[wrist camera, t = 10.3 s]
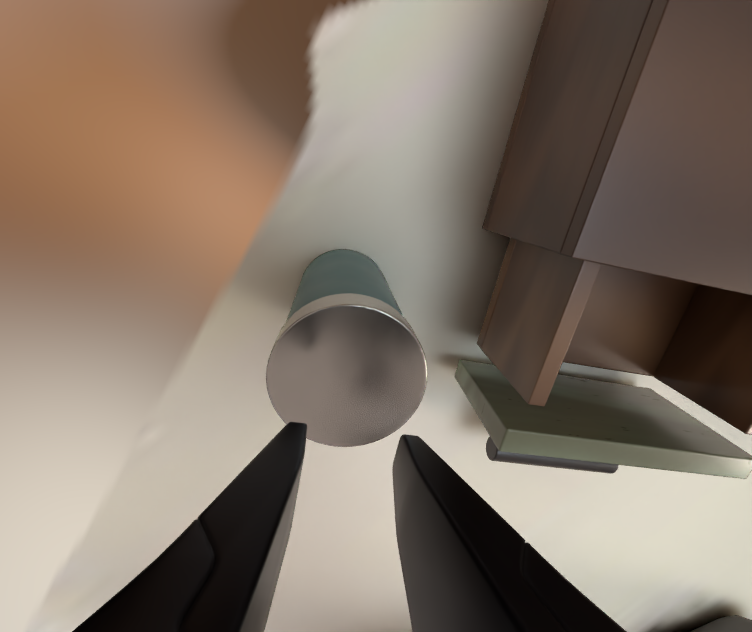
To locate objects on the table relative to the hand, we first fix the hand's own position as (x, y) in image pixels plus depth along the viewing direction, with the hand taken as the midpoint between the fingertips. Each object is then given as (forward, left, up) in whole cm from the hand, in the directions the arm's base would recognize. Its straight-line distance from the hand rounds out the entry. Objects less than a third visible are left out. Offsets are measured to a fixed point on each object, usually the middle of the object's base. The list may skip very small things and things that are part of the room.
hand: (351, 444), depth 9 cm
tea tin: (0, 0, -13) cm, 13 cm away
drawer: (-13, -5, -12) cm, 19 cm away
